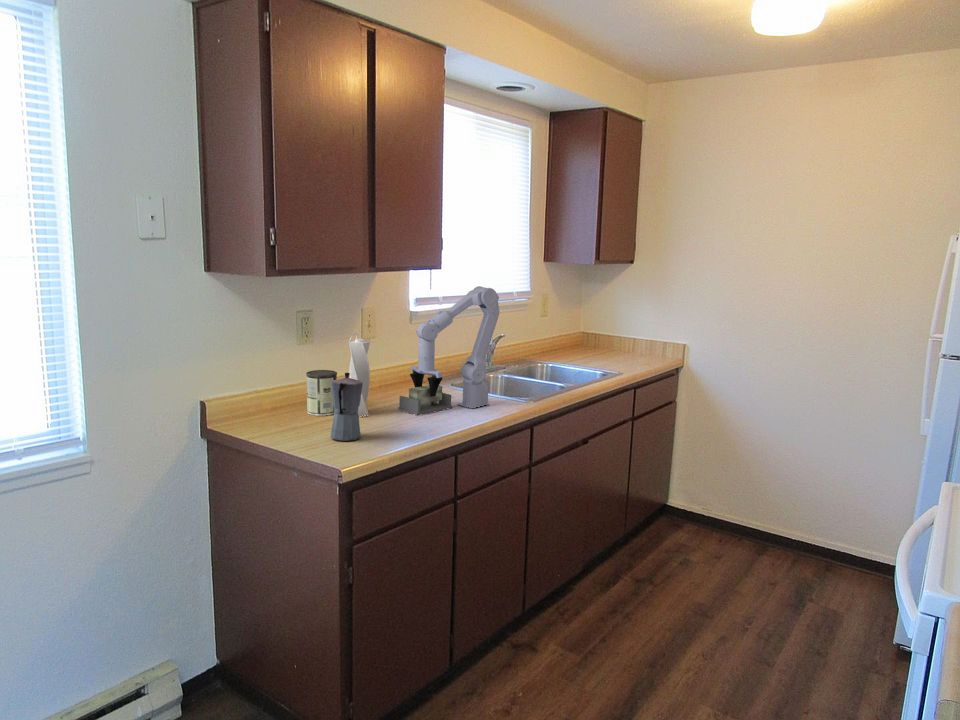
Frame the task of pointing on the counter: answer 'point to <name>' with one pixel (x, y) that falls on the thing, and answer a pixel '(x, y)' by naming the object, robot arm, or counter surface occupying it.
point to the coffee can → (320, 392)
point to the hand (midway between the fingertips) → (425, 394)
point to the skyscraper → (360, 369)
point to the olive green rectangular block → (425, 394)
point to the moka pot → (346, 408)
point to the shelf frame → (424, 405)
